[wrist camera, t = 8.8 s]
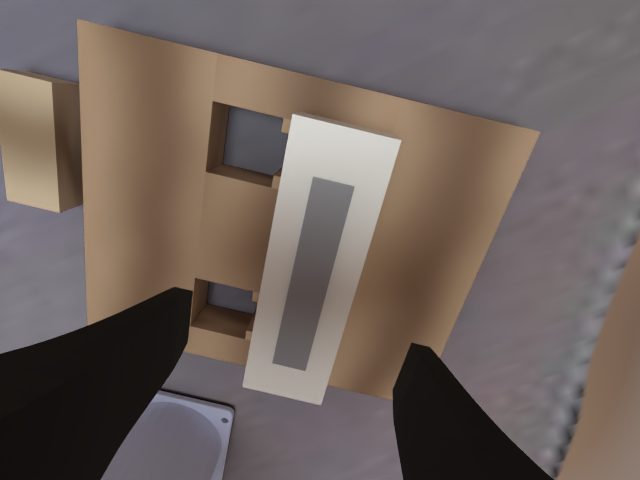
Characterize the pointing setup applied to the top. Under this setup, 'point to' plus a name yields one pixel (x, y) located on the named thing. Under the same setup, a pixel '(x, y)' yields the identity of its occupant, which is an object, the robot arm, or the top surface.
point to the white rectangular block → (316, 252)
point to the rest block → (41, 140)
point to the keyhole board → (275, 198)
